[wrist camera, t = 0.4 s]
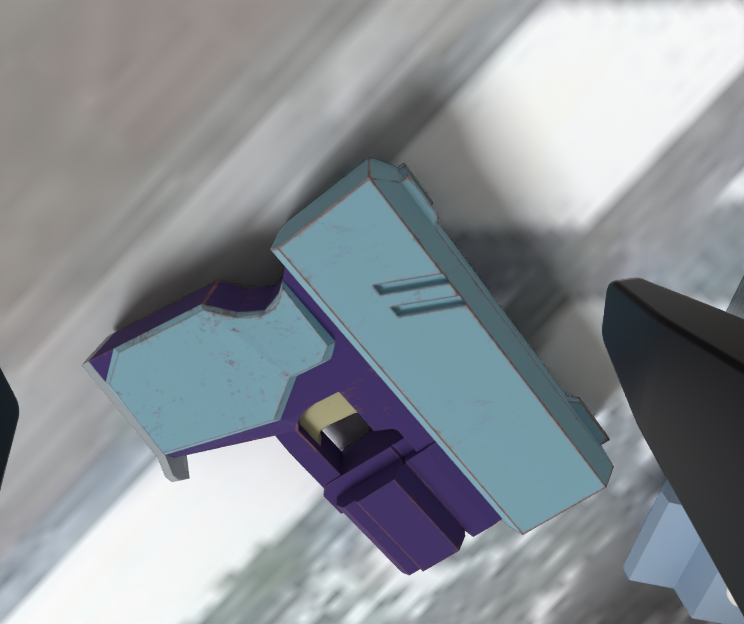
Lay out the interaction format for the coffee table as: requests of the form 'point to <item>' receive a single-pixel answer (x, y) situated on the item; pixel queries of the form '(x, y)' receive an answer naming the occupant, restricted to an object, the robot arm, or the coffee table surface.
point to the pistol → (366, 377)
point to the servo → (680, 562)
